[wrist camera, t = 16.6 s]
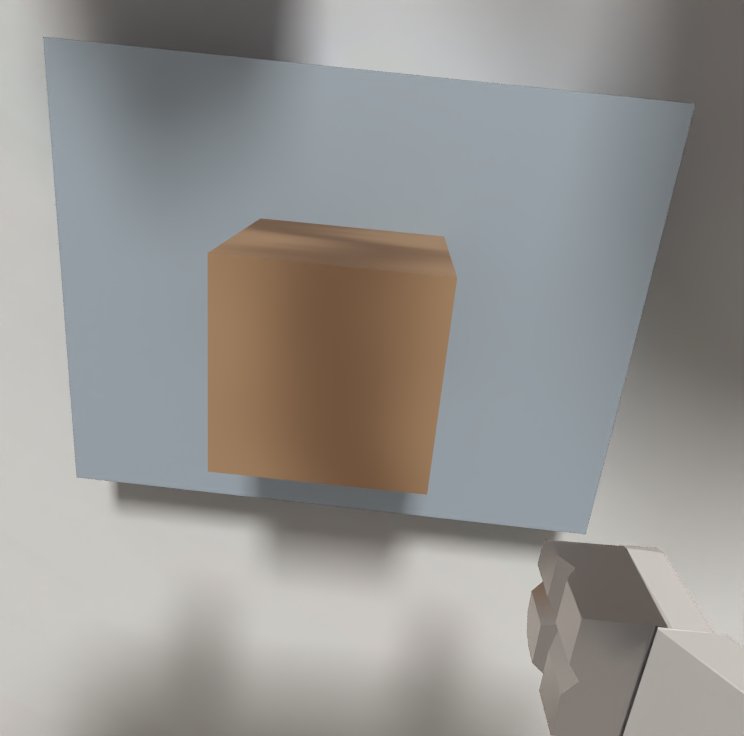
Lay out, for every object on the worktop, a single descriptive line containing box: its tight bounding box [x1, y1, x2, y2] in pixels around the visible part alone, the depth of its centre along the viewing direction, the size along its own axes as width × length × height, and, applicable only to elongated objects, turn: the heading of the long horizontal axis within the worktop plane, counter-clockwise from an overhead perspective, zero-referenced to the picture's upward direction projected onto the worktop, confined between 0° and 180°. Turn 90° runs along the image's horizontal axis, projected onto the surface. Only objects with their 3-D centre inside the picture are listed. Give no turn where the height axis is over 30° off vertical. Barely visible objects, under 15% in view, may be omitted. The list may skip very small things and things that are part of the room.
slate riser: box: [43, 37, 695, 534], centre depth 22 cm, size 18×14×3 cm
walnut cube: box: [208, 218, 457, 495], centre depth 18 cm, size 6×6×6 cm
